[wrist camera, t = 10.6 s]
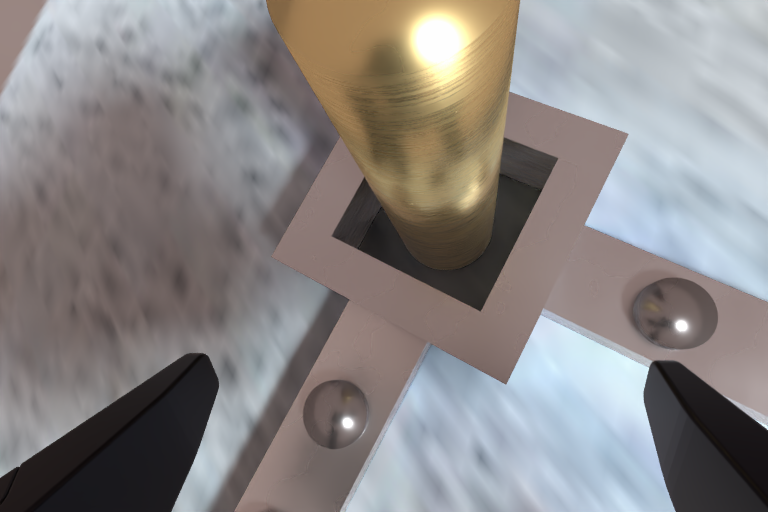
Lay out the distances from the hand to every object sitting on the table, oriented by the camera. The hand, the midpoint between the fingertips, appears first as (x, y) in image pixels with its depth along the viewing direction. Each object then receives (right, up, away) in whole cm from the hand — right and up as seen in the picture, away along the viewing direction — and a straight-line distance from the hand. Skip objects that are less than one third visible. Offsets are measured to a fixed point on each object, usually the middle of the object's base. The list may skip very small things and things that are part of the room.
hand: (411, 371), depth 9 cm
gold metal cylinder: (+2, +4, +9) cm, 10 cm away
